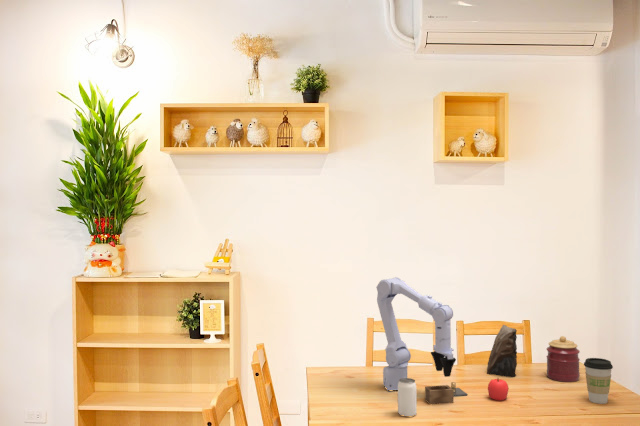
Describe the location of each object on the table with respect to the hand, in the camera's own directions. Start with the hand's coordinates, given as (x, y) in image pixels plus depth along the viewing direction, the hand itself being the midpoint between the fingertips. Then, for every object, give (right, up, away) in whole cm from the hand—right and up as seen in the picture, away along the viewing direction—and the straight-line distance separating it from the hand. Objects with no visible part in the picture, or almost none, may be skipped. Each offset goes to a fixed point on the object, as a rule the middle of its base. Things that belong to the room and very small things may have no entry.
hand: (443, 373), depth 225 cm
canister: (+56, -9, +25) cm, 62 cm away
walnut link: (-2, -10, -3) cm, 10 cm away
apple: (+21, -10, -1) cm, 23 cm away
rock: (+32, -9, +33) cm, 47 cm away
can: (-16, -10, -16) cm, 25 cm away
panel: (+5, -9, +6) cm, 12 cm away
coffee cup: (+57, -9, -4) cm, 58 cm away
